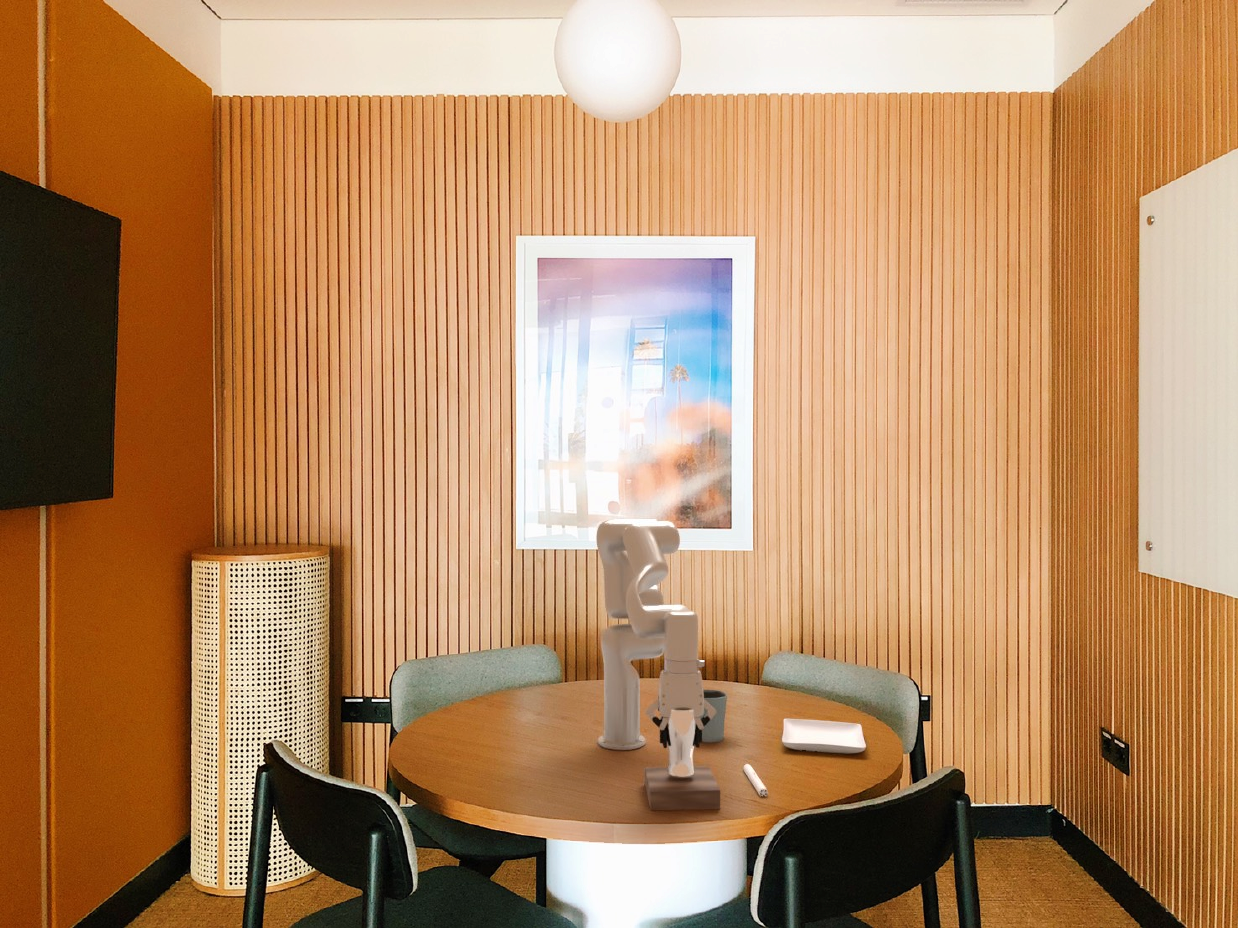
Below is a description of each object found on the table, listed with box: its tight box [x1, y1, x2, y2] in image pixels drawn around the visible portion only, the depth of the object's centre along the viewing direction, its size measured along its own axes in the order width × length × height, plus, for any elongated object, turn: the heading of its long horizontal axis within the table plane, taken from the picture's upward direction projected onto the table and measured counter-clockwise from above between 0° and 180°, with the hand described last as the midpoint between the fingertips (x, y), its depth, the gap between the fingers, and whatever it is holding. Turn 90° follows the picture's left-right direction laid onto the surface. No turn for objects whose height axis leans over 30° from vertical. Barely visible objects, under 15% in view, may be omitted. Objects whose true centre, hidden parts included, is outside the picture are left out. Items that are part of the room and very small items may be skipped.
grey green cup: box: [700, 689, 728, 743], centre depth 232 cm, size 10×10×12 cm
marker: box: [743, 763, 769, 797], centre depth 198 cm, size 18×2×2 cm, turn 4°
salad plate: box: [781, 718, 867, 755], centre depth 228 cm, size 21×21×3 cm
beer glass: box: [666, 709, 697, 778], centre depth 189 cm, size 7×7×15 cm
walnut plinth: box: [644, 765, 721, 811], centre depth 189 cm, size 15×15×4 cm
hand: (680, 745), depth 190 cm, fingers closed on beer glass, 6 cm apart
